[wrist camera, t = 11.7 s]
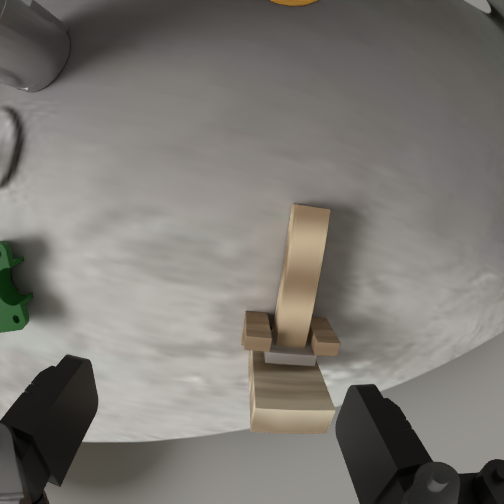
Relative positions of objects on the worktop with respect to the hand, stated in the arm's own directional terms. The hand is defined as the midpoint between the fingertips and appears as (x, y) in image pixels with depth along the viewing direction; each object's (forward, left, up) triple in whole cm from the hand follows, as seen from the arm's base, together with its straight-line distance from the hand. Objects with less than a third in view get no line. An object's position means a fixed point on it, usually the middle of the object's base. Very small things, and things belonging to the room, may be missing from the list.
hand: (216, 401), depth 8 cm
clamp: (+8, -29, -25) cm, 39 cm away
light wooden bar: (+2, +7, -24) cm, 25 cm away
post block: (+11, +7, -25) cm, 28 cm away
